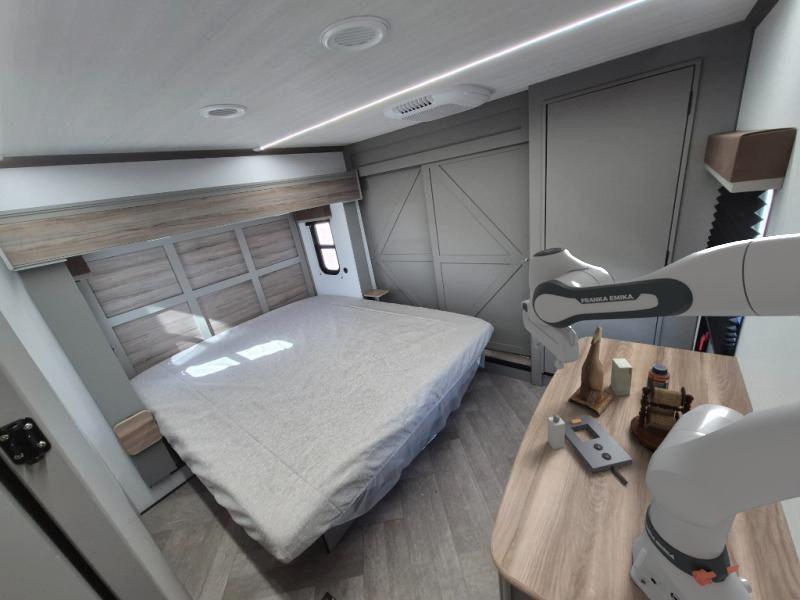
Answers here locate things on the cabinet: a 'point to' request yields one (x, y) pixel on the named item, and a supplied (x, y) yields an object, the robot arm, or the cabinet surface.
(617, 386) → the skincare box
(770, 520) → the cabinet surface
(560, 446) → the charger plug
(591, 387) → the bird sculpture
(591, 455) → the power strip
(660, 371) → the supplement bottle
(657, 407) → the brown thread spool stand
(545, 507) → the cabinet surface
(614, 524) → the cabinet surface
